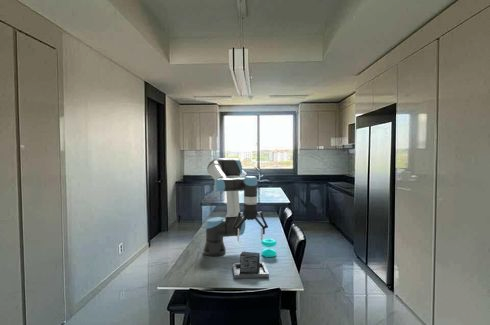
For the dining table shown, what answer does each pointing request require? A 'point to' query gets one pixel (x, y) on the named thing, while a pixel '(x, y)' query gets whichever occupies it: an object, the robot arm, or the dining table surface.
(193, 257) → the dining table surface
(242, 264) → the small box
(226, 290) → the dining table surface
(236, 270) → the tray
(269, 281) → the dining table surface
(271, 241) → the donuts
